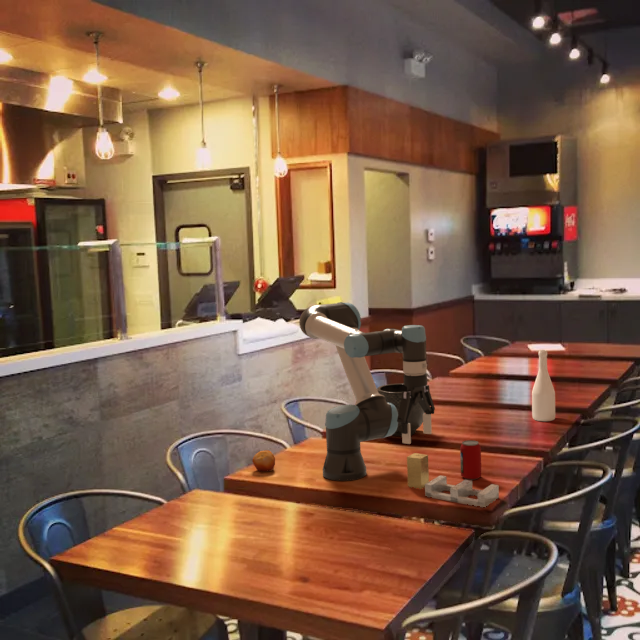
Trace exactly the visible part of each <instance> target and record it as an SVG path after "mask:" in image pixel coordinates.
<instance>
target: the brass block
mask: <svg viewBox="0 0 640 640" xmlns="http://www.w3.org/2000/svg"><path fill="white" fill-rule="evenodd" d="M429 469H430V468H429V455H428V454H424V453H418V452H414V453H412V454H410V455H408V456H406V470H407V471H406V472H407V487H408V486H409V487H408V488H412V487H414V488H413V489H417V488H419V489H418V490H423V489H425V484H426V483H428V482H429V481H430V475H429ZM422 488H423V489H422Z"/></svg>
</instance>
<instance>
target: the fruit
mask: <svg viewBox="0 0 640 640" xmlns="http://www.w3.org/2000/svg"><path fill="white" fill-rule="evenodd" d="M252 464H253V466H254V467H255V469H256V471H258V472H261V473H262V472H272V470H274V468H275V465H276V456H275V455H274V453H273V452H272V451H270V450H268V449H265V450H261V451H258V452H257V453H255V454H254V456H253V457H252Z"/></svg>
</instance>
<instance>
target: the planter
mask: <svg viewBox="0 0 640 640" xmlns="http://www.w3.org/2000/svg"><path fill="white" fill-rule="evenodd" d="M376 388H377V390H378V393H379V394H381V395H383V396H384V397H385V399H386V402H387V403H392V404H393V405H394V406H395V407H396V409H397V412H398V413H399V409H400V404H401V399H402V392H407V387H406V386H404V382H403V383H390V384H389V383H388V384H384V385H380V386H378V387H376ZM423 414H426V413H424V411H423V409H422V407H421V406H420V404H419V402H418V403H416V405H415V406H414V408H413V411H412V414H411V417H410V420H409V423H410V431H411V436H413V435H414V434H415V433H416V432H417V430H418V429H419V428H420V427H421V426H422V425H423ZM415 435H416V434H415ZM392 436H394V437H395V436H396V437H402V424H401V423H398V427H397V430H396V431H395V433H394V434H393V435H392Z"/></svg>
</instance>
